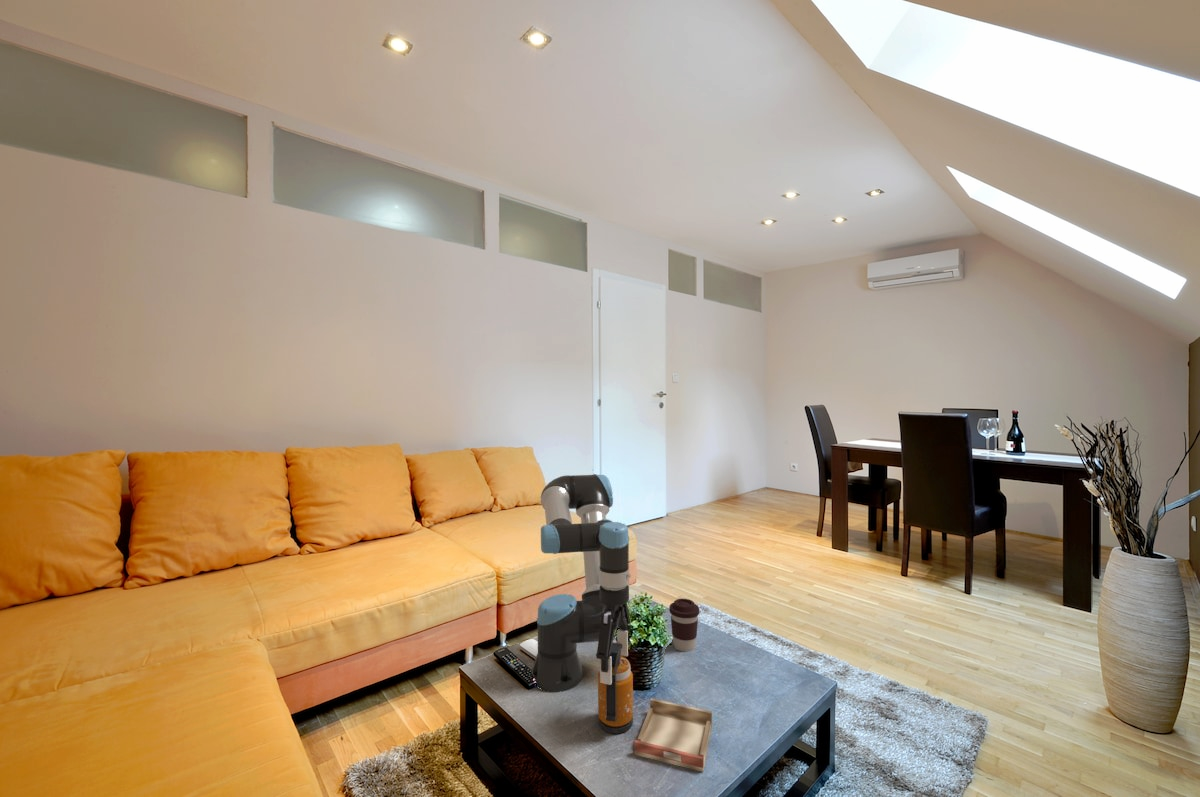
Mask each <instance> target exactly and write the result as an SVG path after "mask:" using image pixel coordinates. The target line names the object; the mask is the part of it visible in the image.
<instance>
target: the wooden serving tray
mask: <svg viewBox="0 0 1200 797" xmlns="http://www.w3.org/2000/svg"><path fill="white" fill-rule="evenodd" d="M712 728H713V711H712V710H707V709H702V708H698V707H694V706H693V707H692V706H688V705H683V704H679V703H674V702H670V701H666V700H661V699H656V698H650V700H649V709H648V711H647V714H646V717H645V719H644V721H643V724H642V726H641V728H640V731H639V733H638V736H637V739H635V740H634V741H633V742H634V744H633V745H634V747H633V749H634V755H636V756H638V757H643V758H647V759H651V760H655V761H658V762H663V763H666V764H671V765H675V766H678V767H683V768H685V769H689V770H694V771H697V772H701V773H704V770H705V765H706V760H707V759H706V758H707V755H708V749H709V743H710V738H711V732H712Z"/></svg>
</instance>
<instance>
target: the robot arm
mask: <svg viewBox="0 0 1200 797" xmlns="http://www.w3.org/2000/svg"><path fill="white" fill-rule="evenodd" d="M540 504H541V506H542V507H541V508H543V509H544V516H545V524H546V525H545V524H544V525H542V526H541V528H540V551H541V552H542V554H552V555H553V554H554V555H557V554H568V553H583V564H584V565H583V566H584V578H585V580H584V582H585V590H584V591H583V592H582V594H581V600H577V598H576V597H575V596H574V595H572V594H568V593H562V594H555V595H551V596H549V597H547V598H545V600H543V601H541V603H540V604H539V605H538V607H537V608H538V609H537V617H536V623H537V654H536V657H535V660H534V664H533V667H532V670H531V676H532V675H533V677H534V678H535V679H536V682H537V686H538V687H539V688H541V689H542V690H541V689H540V690H541V691H543V690H545V691H544V692H547V691H549V693H561V692H565V691H569V690H572V689H574V688H575V687H576V686H578V685H579V684H580V683H581V681H582V680H583V667H582V664H581V660H580V656H579V654H578V651H577V644H580V643H581V644H585V643H594V642H596V643H597V642H598V643H597V648H596V649H597V650H596V654H595V657H596V659H598V660H599V671H600V683H604V684H608V685H611V684H612V656H610V654H611V648H612V644H613V643H614V642H613V641H614V640H616V638H615V637H614V632H615V630H616V629H617V627H619V628H620V629H618V630H617V640H616V641H617V642H616V643H621V644H622V649H621V654H620V656H622V657H628V656H629V651H628V650H629V640H628V639H629V635H628V634H629V631H631V629H632V625H630V624H631V618H630V613H629V607H628V602H629V601H630V587H629V584H630V580H629V579H630V578H631V573H629V571H630V570H629V568H630V567H629V564H630V563H629V562H630V561H629V556H630V555H629V552H630V551H629V548H630V547H629V546H630V544H629V543H630V536H629V528H628V526H627V524H625V523H622V522H619V521H612V519H607V515H608V513H609V512H610V508H611V507H613V504H614V497H613V488H612V484H611V482H610V479H609V478H608V477H607V475H604V474H595V473H594V474H581V475H580V474H579V475H575V474H574V475H562V476H558V477H557V478H554V479H552V480H551V481H550V482H548V483H547V484H546V485H545V486H544V487H543V489H542V491H541V495H540ZM572 509H573V510H575V514H576V515H577V517H579V518H580V523H573V520H572V516H571V512H570V510H572ZM539 688H538V689H539ZM560 691H561V692H560Z"/></svg>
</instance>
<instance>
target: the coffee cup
mask: <svg viewBox="0 0 1200 797" xmlns="http://www.w3.org/2000/svg"><path fill="white" fill-rule="evenodd" d="M668 608H669V611H668V612H669V613H670V614H671V615H670V623H671V625H670V626H671V634H672V640H673V641H672V643H673V647H674V649H675V650H677V651H680V652H686V653H687V652H691V651H694V650H695V649H696V641H697V636H698V622H699V619H698V616H699V615H700V606H699V605H697V604H696V603H695V602H694V601H693V600H691V599H688V598H678V599H676V600H674V601H673V602H672V603H671V604H670V605H669V607H668Z"/></svg>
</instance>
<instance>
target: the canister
mask: <svg viewBox="0 0 1200 797" xmlns="http://www.w3.org/2000/svg"><path fill="white" fill-rule="evenodd" d="M621 649H622V644H621V643H617V642H613V643H612V648H611V654H610V656H612V684H611V685H608V684H604V683H600V670H599V671H598V674H597V692H598V693H597V698H598V699H597V704H598V705H597V707H598V710H597V713H598V714H597V716H598V718H597V719H598V720H597V721H598V725H599V726H600V728H601V729H603V731H605V732H608V733H613V734H620V733H624V732H627V731H628V730H630V728H631V727H632V726H633V724H634V686H633V685H634V683H633V681H634V680H633V679H634V674H633V672H632V671H631V669H632V668H631V663H630V661H629V660H628V659H627V658H626V657H625V656H622V655H620V654H621Z"/></svg>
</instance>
